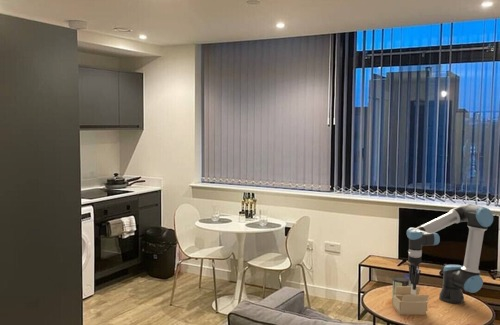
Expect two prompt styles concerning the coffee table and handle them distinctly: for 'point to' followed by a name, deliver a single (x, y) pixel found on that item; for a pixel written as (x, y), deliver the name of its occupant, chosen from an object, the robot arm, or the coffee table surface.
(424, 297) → the flap near camera
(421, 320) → the coffee table surface
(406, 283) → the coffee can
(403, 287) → the flap far
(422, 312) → the carton
